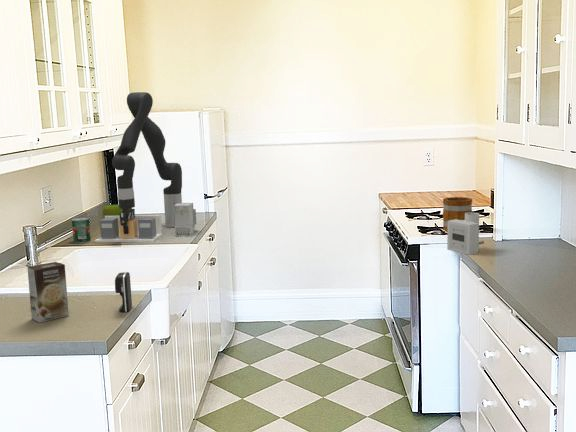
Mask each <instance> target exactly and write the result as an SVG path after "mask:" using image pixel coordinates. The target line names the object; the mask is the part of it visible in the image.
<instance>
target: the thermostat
mask: <svg viewBox="0 0 576 432" xmlns="http://www.w3.org/2000/svg"><path fill="white" fill-rule="evenodd" d="M446 235H447V238H446V239H447V240H446V241H447V246H446V249H447V251H452V252H456V253H459V254H465V255H468V256H470V255H471V256H472V255H476V254H478V253H479V250H480V249H479V247H480V245H484V244H485V242H484V241H483V240H481V241H480V240H479V239H480V213H479V212H472V213H465V220H457V219H455V220H449V221H448V232H447V233H446Z"/></svg>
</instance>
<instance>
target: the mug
mask: <svg viewBox="0 0 576 432" xmlns="http://www.w3.org/2000/svg"><path fill="white" fill-rule="evenodd" d="M442 204H443V207H442V209H443V210H442V220H443V222H442V224H443V225H442V231H443V230H445V231H446V233H448V221H449V220H455V219H457V220H465V213H473V209H472V207H473V205H472V204H473V198H470V197H464V196H461V197H460V196H454V197H452V196H451V197H444V198H443V199H442ZM445 231H444V232H445Z"/></svg>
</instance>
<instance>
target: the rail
mask: <svg viewBox="0 0 576 432" xmlns="http://www.w3.org/2000/svg"><path fill="white" fill-rule="evenodd" d="M155 237H156V236H154V237H153V238H155ZM153 238H139V236H136V237H135V238H120V236H117V237H115V238H101V235H100V236H99V237H97V239H153Z"/></svg>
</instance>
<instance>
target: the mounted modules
mask: <svg viewBox="0 0 576 432" xmlns="http://www.w3.org/2000/svg"><path fill="white" fill-rule="evenodd" d="M99 224H100V225H99V227H100V228H99V229H100V236H101V238H115V237H117V236H119V227H118V218H104V219H103V218H102V219H100V220H99ZM138 229H139V238H153V237H154V236H156V220H155V218H141V219H139V220H138Z"/></svg>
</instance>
